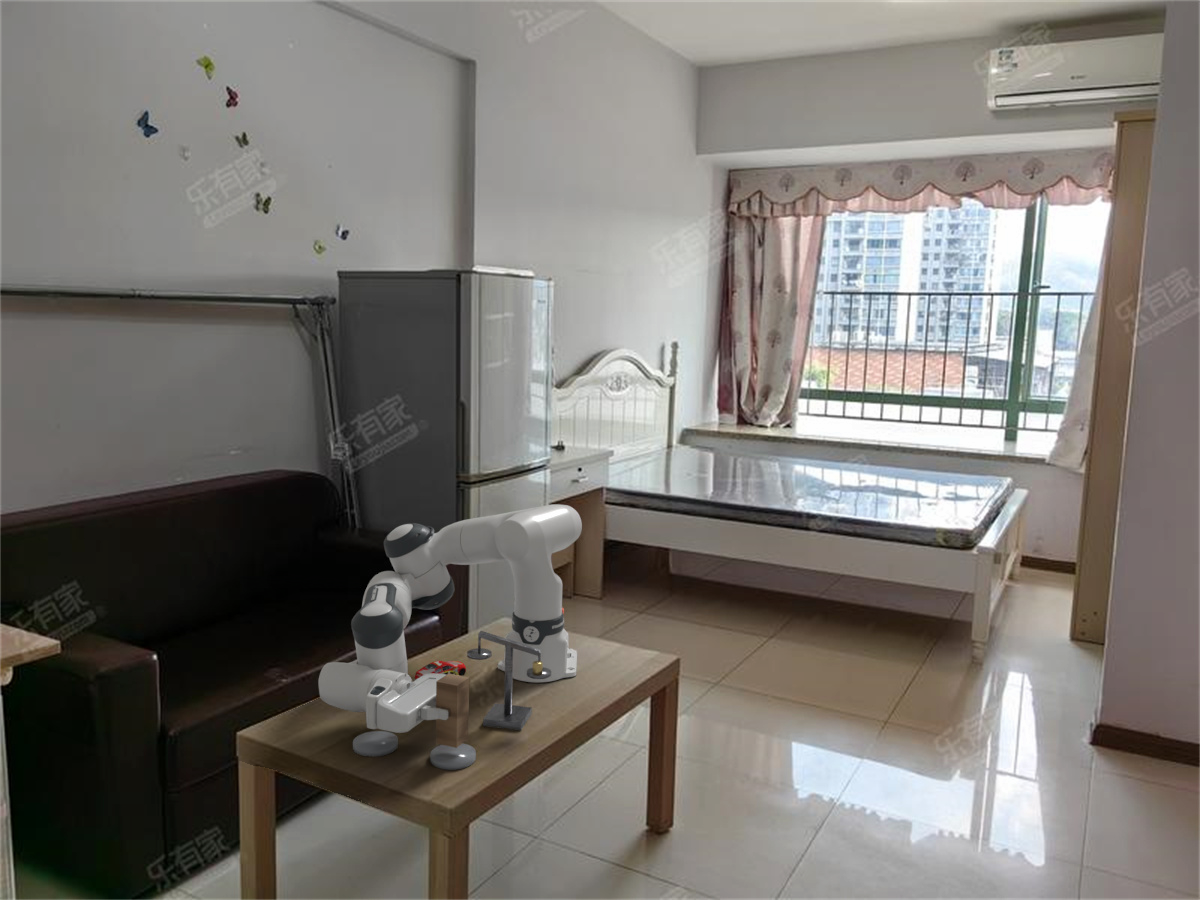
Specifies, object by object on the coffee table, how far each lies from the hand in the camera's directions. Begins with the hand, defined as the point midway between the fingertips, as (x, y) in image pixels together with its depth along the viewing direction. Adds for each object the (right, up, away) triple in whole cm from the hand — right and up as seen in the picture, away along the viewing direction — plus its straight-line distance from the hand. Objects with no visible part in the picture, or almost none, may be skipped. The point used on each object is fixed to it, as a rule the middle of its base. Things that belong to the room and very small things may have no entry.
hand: (457, 708), depth 174 cm
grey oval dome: (-17, -9, +6) cm, 20 cm away
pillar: (-1, -6, +1) cm, 7 cm away
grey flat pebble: (-1, -10, +2) cm, 10 cm away
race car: (-10, -5, +41) cm, 42 cm away
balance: (+7, -8, +20) cm, 22 cm away
